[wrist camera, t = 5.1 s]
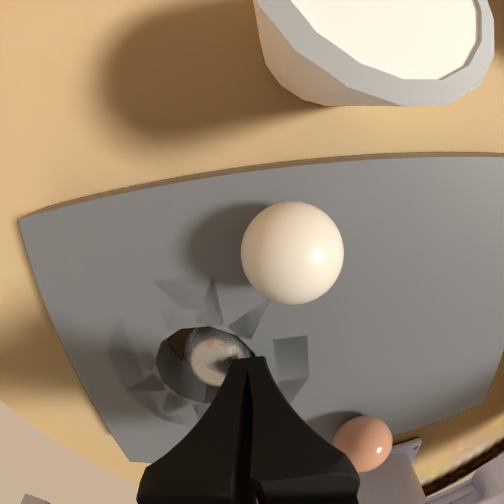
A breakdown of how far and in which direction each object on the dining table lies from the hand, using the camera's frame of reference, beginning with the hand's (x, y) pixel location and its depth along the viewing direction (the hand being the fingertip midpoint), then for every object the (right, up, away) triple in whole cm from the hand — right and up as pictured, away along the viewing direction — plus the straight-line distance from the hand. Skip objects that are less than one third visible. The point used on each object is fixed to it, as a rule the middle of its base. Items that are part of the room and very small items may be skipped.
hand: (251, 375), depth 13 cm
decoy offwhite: (+1, +5, -3) cm, 6 cm away
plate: (+3, +1, +3) cm, 4 cm away
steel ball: (-1, 0, +1) cm, 2 cm away
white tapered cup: (+3, +14, -1) cm, 14 cm away
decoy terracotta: (+6, -5, +1) cm, 7 cm away
